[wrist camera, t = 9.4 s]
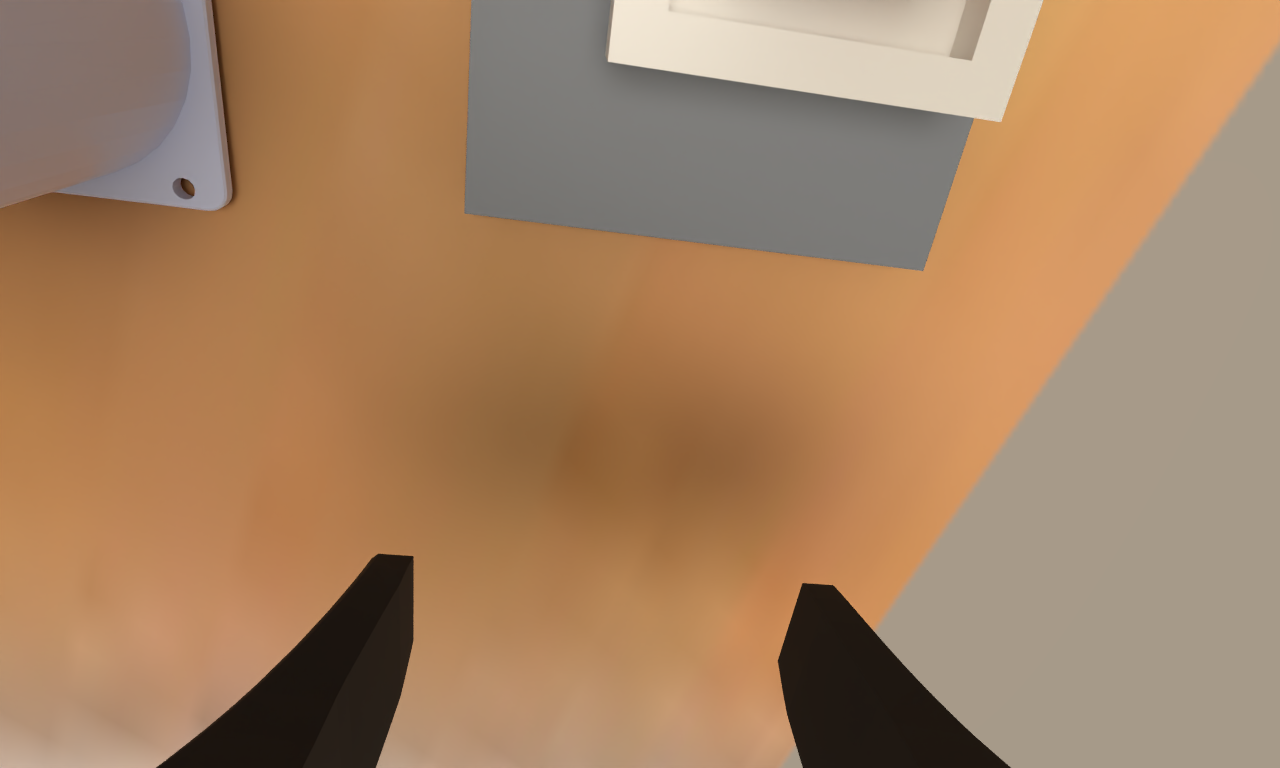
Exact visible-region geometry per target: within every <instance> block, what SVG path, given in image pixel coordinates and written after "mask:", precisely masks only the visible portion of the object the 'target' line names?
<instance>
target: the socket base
mask: <svg viewBox="0 0 1280 768" xmlns="http://www.w3.org/2000/svg"><path fill="white" fill-rule="evenodd" d="M1042 3H1043V0H611V6H610V15H609V24H608V33H607V42H606V51H605V56H606V59H607V61H608V62H613V63H619V64H626V65H632V66H639V67H646V68H652V69H659V70H665V71H672V72H678V73H685V74H691V75H698V76H704V77H711V78H717V79H724V80H730V81H737V82H743V83H750V84H756V85H763V86H769V87H776V88H782V89H789V90H795V91H802V92H808V93H815V94H821V95H828V96H834V97H841V98H847V99H854V100H860V101H867V102H873V103H880V104H886V105H893V106H899V107H906V108H913V109H919V110H926V111H932V112H939V113H945V114H952V115H958V116H965V117H971V118H978V119H984V120H991V121H997V122H1001V120H1002V118H1003V115H1004V112H1005V109H1006V106H1007V103H1008V100H1009V97H1010V95H1011V92H1012V89H1013V86H1014V83H1015V80H1016V77H1017V75H1018V72H1019V69H1020V66H1021V63H1022V60H1023V57H1024V54H1025V52H1026V49H1027V46H1028V43H1029V40H1030V37H1031V34H1032V32H1033V29H1034V26H1035V23H1036V20H1037V17H1038V14H1039V11H1040V9H1041V6H1042Z"/></svg>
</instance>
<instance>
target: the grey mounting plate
mask: <svg viewBox="0 0 1280 768" xmlns="http://www.w3.org/2000/svg"><path fill="white" fill-rule="evenodd" d="M610 6H611V0H472V1H471V32H470V62H469V92H468V123H467V153H466V184H465V213H466V214H473V215H481V216H489V217H497V218H505V219H513V220H521V221H529V222H537V223H545V224H553V225H561V226H569V227H577V228H585V229H593V230H601V231H609V232H617V233H625V234H633V235H641V236H649V237H657V238H665V239H673V240H681V241H689V242H697V243H705V244H713V245H721V246H729V247H737V248H745V249H753V250H761V251H769V252H777V253H785V254H793V255H800V256H808V257H816V258H824V259H832V260H840V261H848V262H856V263H864V264H872V265H880V266H888V267H896V268H904V269H912V270H920V271H923V270H924V267H925V264H926V261H927V258H928V255H929V252H930V249H931V246H932V243H933V240H934V237H935V234H936V231H937V228H938V225H939V222H940V219H941V216H942V213H943V210H944V207H945V204H946V201H947V198H948V195H949V192H950V189H951V186H952V183H953V180H954V177H955V174H956V171H957V168H958V165H959V162H960V159H961V156H962V152H963V149H964V146H965V143H966V140H967V137H968V134H969V131H970V128H971V125H972V122H973V119H974V118H971V117H965V116H958V115H952V114H945V113H939V112H932V111H926V110H919V109H913V108H906V107H899V106H893V105H886V104H880V103H873V102H867V101H860V100H854V99H847V98H841V97H834V96H828V95H821V94H815V93H808V92H802V91H795V90H789V89H782V88H776V87H769V86H763V85H756V84H750V83H743V82H737V81H730V80H724V79H717V78H711V77H704V76H698V75H691V74H685V73H678V72H672V71H665V70H659V69H652V68H646V67H639V66H632V65H626V64H619V63H613V62H608V61H607V59H606V56H605V51H606V42H607V33H608V24H609V15H610Z"/></svg>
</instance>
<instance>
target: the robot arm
mask: <svg viewBox="0 0 1280 768" xmlns="http://www.w3.org/2000/svg"><path fill="white" fill-rule="evenodd" d="M182 178H184V179H187V180H189V181H190V182H191V183H192V184H193V186H194V188H195V195H194V196H191V195H189V194H187V193H186V192H185V191H184V190H183V189H182V186H181V179H182ZM51 192H57V193H65V194H73V195H82V196H90V197H98V198H107V199H115V200H123V201H131V202H140V203H148V204H156V205H165V206H173V207H181V208H189V209H198V210H206V211H213V210H218V209H220V208H222V207H224V206H226V205H227V204H228V203H229V202H230V200H231V199H232V182H231V173H230V164H229V155H228V146H227V137H226V128H225V119H224V110H223V101H222V92H221V83H220V74H219V65H218V56H217V47H216V38H215V29H214V20H213V11H212V2H211V0H0V208H3V207H6V206H10V205H13V204H16V203H19V202H22V201H25V200H29V199H32V198H35V197H38V196H41V195H44V194H48V193H51ZM412 644H413V556H402V555H387V554H377V555H376V556H375V557H373V558H372V559H371V560H370V562H369V563H368V564H367V565H366V567H365V568H364V569H363V571H362V572H361V573H360V574H359V576H358V577H357V578H356V579H355V581H354V582H353V583H352V584H351V585H350V587H349V588H348V589H347V590H346V591H345V593H344V594H343V595H342V596H341V597H340V598H339V599H338V601H337V602H336V603H335V604H334V605H333V606H332V608H331V609H330V610H329V611H328V612H327V613H326V614H325V615H324V616H323V617H322V619H321V620H320V621H319V622H318V623H317V624H316V625H315V626H314V627H313V628H312V629H311V631H310V632H309V633H308V634H307V635H306V636H305V637H304V638H303V639H302V640H301V641H300V642H299V643H298V644H297V645H296V646H295V647H294V649H293V650H291V651H290V652H289V653H288V654H287V655H286V656H285V657H284V658H283V659H282V660H281V661H280V662H279V663H278V664H277V665H276V666H275V667H274V668H273V669H272V670H271V671H270V672H269V673H268V674H267V675H266V676H265V677H264V678H263V679H262V680H261V681H260V682H259V683H258V684H257V685H256V686H254V687H253V688H252V689H251V690H250V691H249V692H248V693H247V694H246V695H245V696H243V697H242V698H241V699H240V700H239V701H238V702H237V703H236V704H234V705H233V706H232V707H231V708H230V709H229V710H228V711H226V712H225V713H224V714H223V715H222V716H221V717H219V718H218V719H217V720H216V721H215V722H213V723H212V724H211V725H210V726H209V727H208V728H206V729H205V730H204V731H203V732H201V733H200V734H199V735H198V736H196V737H195V738H194V739H193V740H191V741H190V742H189V743H187V744H186V745H185V746H184V747H182V748H181V749H180V750H178V751H177V752H176V753H175V754H173V755H172V756H171V757H170V758H168V759H167V760H166V761H164V762H163V763H162V764H160V765H159V766H158V767H156V768H376V765H377V763H378V760H379V757H380V754H381V751H382V748H383V745H384V743H385V740H386V737H387V734H388V731H389V728H390V725H391V722H392V720H393V717H394V714H395V711H396V708H397V705H398V702H399V699H400V696H401V692H402V688H403V684H404V679H405V675H406V671H407V666H408V662H409V658H410V653H411V649H412ZM778 664H779V670H780V677H781V683H782V689H783V695H784V700H785V705H786V711H787V715H788V719H789V722H790V726H791V729H792V733H793V736H794V739H795V743H796V746H797V749H798V752H799V756H800V759H801V763H802V766H803V768H1010V767H1009V766H1008V765H1007V764H1006V763H1005V762H1004V761H1002V760H1001V759H1000V758H999V757H998V756H997V755H995V754H994V753H993V752H992V751H991V750H990V749H989V748H988V747H986V746H985V745H984V744H983V743H982V742H981V741H980V740H978V739H977V738H976V737H975V736H974V735H973V734H972V733H971V732H970V731H968V729H966V728H965V727H964V726H963V725H962V724H961V723H960V722H959V721H958V720H957V719H956V718H955V717H954V716H953V715H952V714H951V713H950V712H949V711H948V710H946V708H945V707H944V706H943V705H942V704H941V703H940V702H939V701H938V700H937V699H936V698H935V697H934V696H933V695H932V694H931V693H930V692H929V691H928V690H927V689H926V688H925V687H924V686H923V685H922V684H921V683H920V682H919V681H918V680H917V679H916V678H915V677H914V675H913V674H912V673H911V672H910V671H909V670H908V669H907V668H906V667H905V666H904V665H903V664H902V662H901V661H900V660H899V659H898V658H897V657H896V656H895V655H894V654H893V653H892V651H891V650H890V649H889V648H888V647H887V646H886V645H885V644H884V643H883V642H882V640H881V639H880V638H879V637H878V636H877V634H876V633H875V632H874V631H873V630H872V629H871V628H870V626H869V625H868V624H867V623H866V622H865V621H864V620H863V618H862V617H861V616H860V615H859V614H858V613H857V611H856V610H855V609H854V608H853V607H852V606H851V605H850V603H849V602H848V601H847V600H846V599H845V598H844V597H843V595H842V594H841V593H840V592H839V591H838V590H837V589H836V588H835V587H834V586H833V585H821V584H807V583H802V587H801V590H800V593H799V596H798V599H797V602H796V605H795V609H794V612H793V615H792V618H791V621H790V624H789V627H788V631H787V634H786V637H785V640H784V643H783V646H782V649H781V653H780V656H779V659H778Z"/></svg>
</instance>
